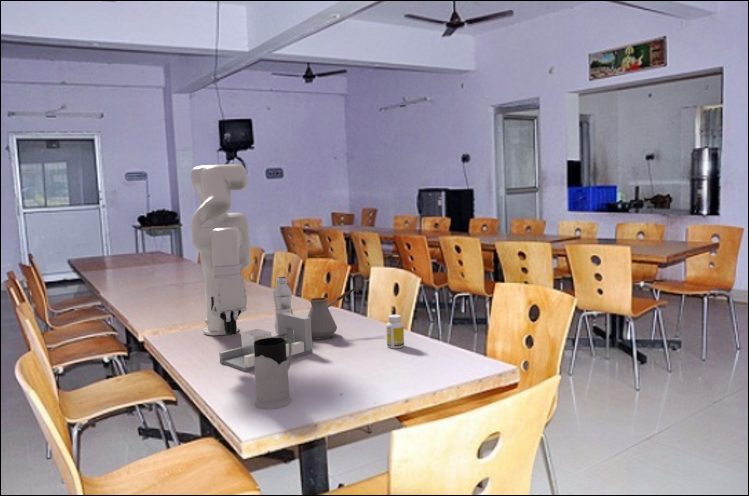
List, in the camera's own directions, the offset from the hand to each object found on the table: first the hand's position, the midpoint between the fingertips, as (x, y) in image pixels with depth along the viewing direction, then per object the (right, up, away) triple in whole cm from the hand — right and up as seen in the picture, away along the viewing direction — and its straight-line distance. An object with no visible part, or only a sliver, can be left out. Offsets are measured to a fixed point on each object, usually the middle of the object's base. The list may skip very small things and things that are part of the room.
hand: (230, 334), depth 173 cm
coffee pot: (+27, -5, +35) cm, 44 cm away
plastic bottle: (+10, -6, +36) cm, 38 cm away
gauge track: (+9, -8, +9) cm, 15 cm away
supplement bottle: (+48, -6, +16) cm, 51 cm away
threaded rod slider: (+10, -7, +9) cm, 15 cm away
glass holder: (+18, -12, -26) cm, 34 cm away
